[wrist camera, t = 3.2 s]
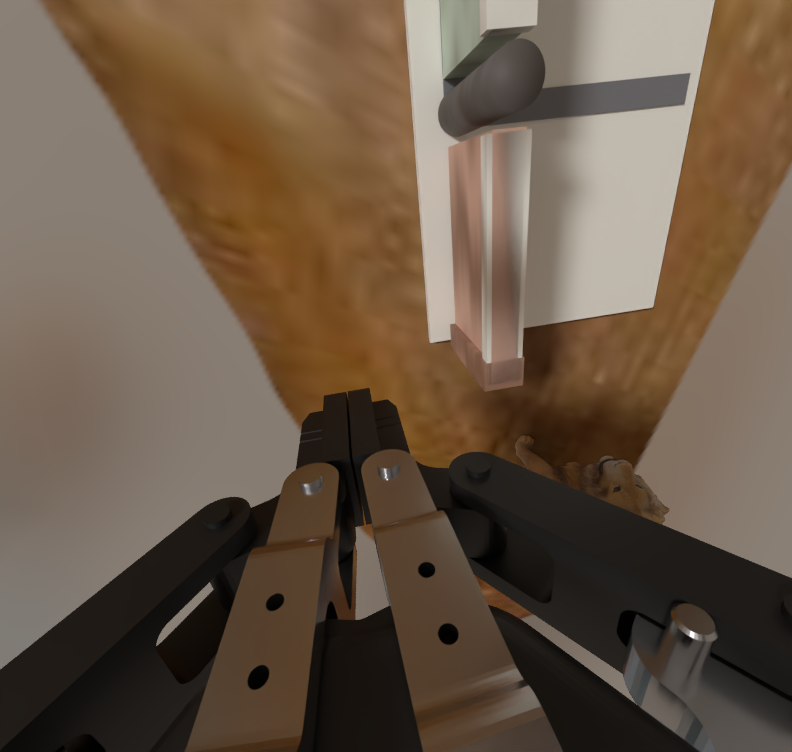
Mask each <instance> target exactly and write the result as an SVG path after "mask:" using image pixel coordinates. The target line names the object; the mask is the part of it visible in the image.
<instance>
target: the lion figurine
mask: <svg viewBox="0 0 792 752" xmlns="http://www.w3.org/2000/svg"><path fill="white" fill-rule="evenodd" d="M533 443H534V440H533V438H531V437H530V436H528V435H521V436H520V437H519V438H518V439H517V441H516V443H515V449H516V455H517V456H518V457H519V458H520V459H521V460H522V462H523V463H524V464H525V467H526V469H528V470H531V471H533V472H535V473H538V474H540V475H543V476H545V477H548V478H550V479H552V480H555V481H557V482H560V483H562V484H564V485H567V486H569V487H572V488H574V489H577V490H579V491H581V492H584V493H586V494H589V495H591V496H594V497H596V498H598V499H601V500H603V501H606V502H608V503H611V504H613V505H615V506H618V507H620V508H623V509H625V510H627V511H630V512H632V513H635V514H637V515H640V516H642V517H644V518H647V519H649V520H652V521H654V522H657V523H659V524H661V525H662V522H664V521H665V518H664V515H665V514H666V513H667V512H669V508H667V507H665V506H664V505H663V504H662V503H661V502H660V501H659V500H658V499H657V496H656V495H655V494H654V493H653V492H652V490H651V489H650V488H649V487H648V486H647V484H646V483H645V482H644V480H643V479H642V478H641V477H640V476H639V475H636V474H634V473H633V468H632V465H631V464H630V463H629V462H628V461H626V460H619V461H617V460H616V459H614V458H613V457H611V456H603V457H602V458H601V459H600V461H599V463H591V464H588V465H586V466H581V465H579V464H578V463H577V462H569V463H565V464H564V465H562V466H557V467H556V468H552V467H551V466H550V465H549V464H547V463H546V462H545V461H544V460H543V459H541V458H540V457H539V456H537V455H535V454H534V453H532V452H531V451H530V449H531V448H532V447H533Z"/></svg>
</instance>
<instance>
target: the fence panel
mask: <svg viewBox="0 0 792 752" xmlns="http://www.w3.org/2000/svg"><path fill="white" fill-rule="evenodd" d="M531 148H532V129H528V130H527V126H524V127H515V128H506V129H498V130H491V131H489V132H486V133H484V134H481V135H478V136H476V137H473V138H471V139H468V140H465V141H463V142H460V143H457V144H455V145H452V146H450V147H448V158H449V182H450V207H451V231H452V256H453V280H454V305H455V324H450V333H451V348H452V349H453V350H454V352H455V353H456V354H457V356H458V357H459V358H460V360H461V361H462V362H463V363H464V365H465V366H466V367H467V369H468V370H469V371H470V373H471V374H472V375H473V377H474V378H475V379H476V381H477V382H478V383H479V385H480V386H481V387H482V389H483V390H484V391H485V392H486V391H492V390H498V389H504V388H509V387H515V386H521V385H523V375H524V356H522V350H523V328H524V305H525V283H526V260H527V238H528V215H529V193H530V170H531Z"/></svg>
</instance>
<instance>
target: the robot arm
mask: <svg viewBox="0 0 792 752" xmlns="http://www.w3.org/2000/svg"><path fill="white" fill-rule="evenodd" d="M362 506H363V509H362ZM363 511H364V516H365V520H366V525H367V524H372V528H373V533H374V539H375V544H376V549H377V553H378V558H379V563H380V567H381V572H382V577H383V582H384V586H385V591H386V596H387V600H388V605H389V606H388V607H386V608H384V609H382V610H380V611H378V612H376V613H374V614H372V615H370V616H368V617H366V618H364V619H361V620H355V609H356V568H357V550H356V546H355V542H356V530H355V527H358V526H363V525H364V520H363ZM474 575H476V576H477V577H479V578H480V579H482V580H483V581H485V582H486V583H488V584H489V585H491V586H492V587H494V588H495V589H497V590H498V591H500V592H501V593H503V594H504V595H506V596H507V597H509V598H510V599H512V600H513V601H515V602H516V603H518V604H519V605H521V606H522V607H524V608H525V609H527V610H528V611H530V612H531V613H533V614H534V615H536V616H537V617H539V618H540V619H542V620H543V621H545V622H546V623H548V624H549V625H551V626H552V627H554V628H555V629H557V630H558V631H560V632H561V633H563V634H564V635H565V636H567V637H568V638H570V639H571V640H573V641H574V642H576V643H578V644H579V645H580V646H582V647H583V648H585V649H586V650H588V651H590V652H591V653H592V654H594V655H596V656H597V657H598V658H600V659H601V660H603V661H604V662H606V663H608V664H609V665H610V666H612V667H613V668H615V669H616V670H618V671H619V672H621V673H622V674H623V677H624V681H625V684H626V686H627V689H628V691H629V693H630V695H631V696H632V698H633V700H634V701H635V703H636V704H637V705H636V704H635V703H634V702H632V701H631V700H629V699H628V698H627V697H626V696H624V695H623V694H622V693H620V692H619V691H618V690H616V689H615V688H613V687H612V686H611V685H609V684H608V683H607V682H605V681H604V680H603V679H601V678H600V677H599V676H597V675H596V674H594V673H593V672H592V671H590V670H589V669H588V668H586V667H585V666H584V665H582V664H581V663H580V662H578V661H577V660H575V659H574V658H573V657H572V656H570V655H569V654H567V653H566V652H565V651H563V650H562V649H561V648H559V647H558V646H556V645H555V644H554V643H552V642H551V641H550V640H548V639H547V638H546V637H544V636H543V635H542V634H540V633H539V632H538V631H536V630H535V629H533V628H532V627H531V626H529V625H528V624H527V623H525V622H524V621H522V620H521V619H519V618H517V617H515V616H514V615H512V614H510V613H508V612H506V611H503V610H501V609H499V608H496V607H493V606H490V605H488V604H487V602H486V600H485V598H484V595H483V593H482V591H481V589H480V587H479V584H478V582H477V580H476V578H475V576H474ZM209 582H210V583H211V585H212V587H213V589H214V590H213V591H212V592H211V593H210V594H209V595H208V596H207V597H206V598H205V599H204V600H203V601H202V602H201V603H200V604H199V605H198V606H197V607H196V608H195V609H194V610H193V611H192V612H191V613H190V614H189V615H188V616H187V617H186V618H185V619H184V620H183V621H182V622H181V623H180V624H179V625H178V626H177V628H175V629H174V630H173V631H172V632H171V634H169V635H168V636H167V637H166V638H165V639H164V640H163V641H162V642H161V643H160V644H159V645H158V646H156V643H157V639H158V636H159V634H160V633H161V631H162V629H163V628H164V627H165V625H166V624H167V623H168V622H169V621H170V620H171V619H172V618H173V617H174V616H175V615H176V614H177V613H178V612H179V611H180V610H181V609H182V608H183V607H184V606H185V605H186V604H187V603H189V602H190V600H192V598H194V597H195V596H196V595H197V594H198V593H199V592H200V591H201V590H202V589H203V588H204V587H205V586H206V585H207V584H208V583H209ZM0 752H792V578H790V577H787V576H785V575H782V574H780V573H778V572H775V571H773V570H770V569H768V568H766V567H763V566H761V565H758V564H756V563H753V562H751V561H749V560H746V559H744V558H741V557H739V556H736V555H734V554H732V553H729V552H727V551H724V550H722V549H720V548H717V547H715V546H712V545H710V544H707V543H705V542H703V541H700V540H698V539H695V538H693V537H690V536H688V535H685V534H683V533H681V532H678V531H676V530H673V529H671V528H669V527H666V526H663V525H661V524H659V523H657V522H654V521H652V520H649V519H647V518H644V517H642V516H640V515H637V514H635V513H632V512H630V511H627V510H625V509H623V508H620V507H618V506H615V505H613V504H611V503H608V502H606V501H603V500H601V499H598V498H596V497H594V496H591V495H589V494H586V493H584V492H581V491H579V490H577V489H574V488H572V487H569V486H567V485H564V484H562V483H560V482H557V481H555V480H552V479H550V478H548V477H545V476H543V475H540V474H538V473H535V472H533V471H531V470H528V469H526V468H523V467H521V466H518V465H516V464H514V463H511V462H509V461H506V460H504V459H502V458H499V457H497V456H494V455H492V454H488V453H484V452H470V453H466V454H463V455H460V456H458V457H457V458H455V459H454V460H453V461H452V462H451V464H450V466H449V468H433V467H428V466H425V465H422V464H420V463H418V462H417V461H415V459H414V457H413V456H412V455H411V454H410V452H409V448H408V445H407V441H406V438H405V435H404V431H403V428H402V425H401V421H400V418H399V414H398V411H397V408H396V406H395V405H394V404H393V403H391V402H390V401H389V400H382V401H376V402H372V400H371V394H370V389H369V388H366V389H360V390H354V391H348V397H347V393H346V392H343V393H337V394H331V395H325V396H324V405H323V411H319V412H314V413H310V414H309V415H308V416H307V418H306V419H305V420H304V422H303V423H302V430H301V437H300V444H299V452H298V458H297V466H296V470H295V471H294V472H292V473H291V474H290V475H289V476H288V477H287V479H286V480H285V482H284V484H283V487H282V491H281V494H280V495H278V496H276V497H275V498H273V499H271V500H269V501H266V502H264V503H262V504H259V505H257V506H255V507H252V508H251V507H250V505H249V503H248V502H247V501H246V500H245V499H243V498H239V497H229V498H223V499H220V500H217V501H215V502H213V503H210V504H209V505H207V506H205V507H204V508H203V509H201V510H200V511H199V512H197V513H196V514H195V515H193V516H192V517H191V518H190V519H188V520H187V521H186V522H185V523H184V524H182V525H181V526H180V527H178V528H177V529H176V530H175V531H174V532H172V533H171V534H170V535H168V536H167V537H166V538H165V539H163V540H162V541H161V542H160V543H158V544H157V545H156V546H155V547H153V548H152V549H151V550H150V551H148V552H147V553H146V554H145V555H143V556H142V557H141V558H140V559H138V560H137V561H136V562H135V563H133V564H132V565H131V566H130V567H128V568H127V569H126V570H125V571H123V572H122V573H121V574H119V575H118V576H117V577H116V578H114V579H113V580H112V581H111V582H109V584H107V585H106V586H104V587H103V588H102V589H101V590H100V591H98V592H97V593H96V594H95V595H93V596H92V597H91V598H89V599H88V600H87V601H86V602H84V603H83V604H82V605H81V606H79V607H78V608H77V609H76V610H75V611H73V612H72V613H71V614H70V615H68V616H67V617H66V618H64V619H63V620H62V621H61V622H59V623H58V624H57V625H56V626H54V627H53V628H52V629H51V630H49V631H48V632H47V633H46V634H44V635H43V636H42V637H41V638H39V639H38V640H37V641H36V642H34V643H33V644H32V645H31V646H29V647H28V648H27V649H26V650H24V651H23V652H22V653H21V654H19V655H18V656H17V657H15V658H14V659H13V660H12V661H10V662H9V663H8V664H7V665H6V666H4V667H3V668H2V669H0Z"/></svg>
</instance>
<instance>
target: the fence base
mask: <svg viewBox="0 0 792 752" xmlns="http://www.w3.org/2000/svg"><path fill="white" fill-rule="evenodd" d="M440 10H441V34H442V57H443V79H451V78H461V77H466V78H465V79H464V80H462V81H461V82H460V83H459V84H458V85H457V86H455V87H454V88H453V89H452V90H451V91H450V92H448V93H447V94H446V95H445V96H444V97H443V99H442V100H441V102H440V105H439V109H438V120H439V123H440V126H441V128H442V129H443V131H444V132H445V133H447V134H448V135H450V136H453V137H459V136H462V135H465V134H467V133H469V132H472V131H474V130H476V129H479V128H481V127H483V126H485V125H488V124H490V123H492V122H495V121H497V120H499V119H502V118H504V117H506V116H509V115H511V114H513V113H516V112H518V111H520V110H523V109H525V108H527V107H528V106H529V105H531V104H532V103H533V102H534V101H535V100H536V98H537V97H538V95H539V93H540V92H541V89H542V87H543V84H544V79H545V62H544V58H543V55H542V53H541V51H540V49H539V48H538V47H537V46H536V44H534V43H533V42H532V41H530V40H527V39H523V38H518V39H515V38H517V37H518V36H519V35H520V34H521V33H527V32H529V31H530V30H532V29H533V28H534V27H535V26H536V25H537V13H538V0H440Z"/></svg>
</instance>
